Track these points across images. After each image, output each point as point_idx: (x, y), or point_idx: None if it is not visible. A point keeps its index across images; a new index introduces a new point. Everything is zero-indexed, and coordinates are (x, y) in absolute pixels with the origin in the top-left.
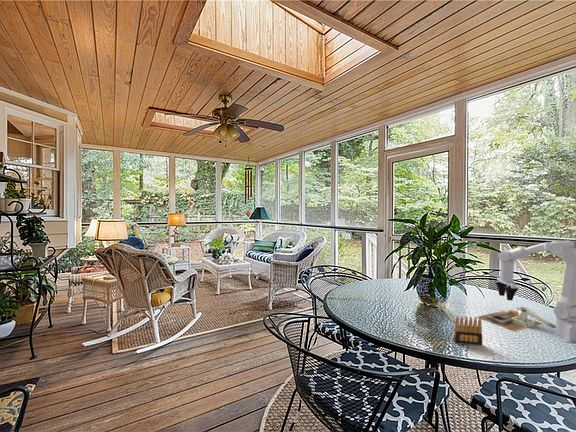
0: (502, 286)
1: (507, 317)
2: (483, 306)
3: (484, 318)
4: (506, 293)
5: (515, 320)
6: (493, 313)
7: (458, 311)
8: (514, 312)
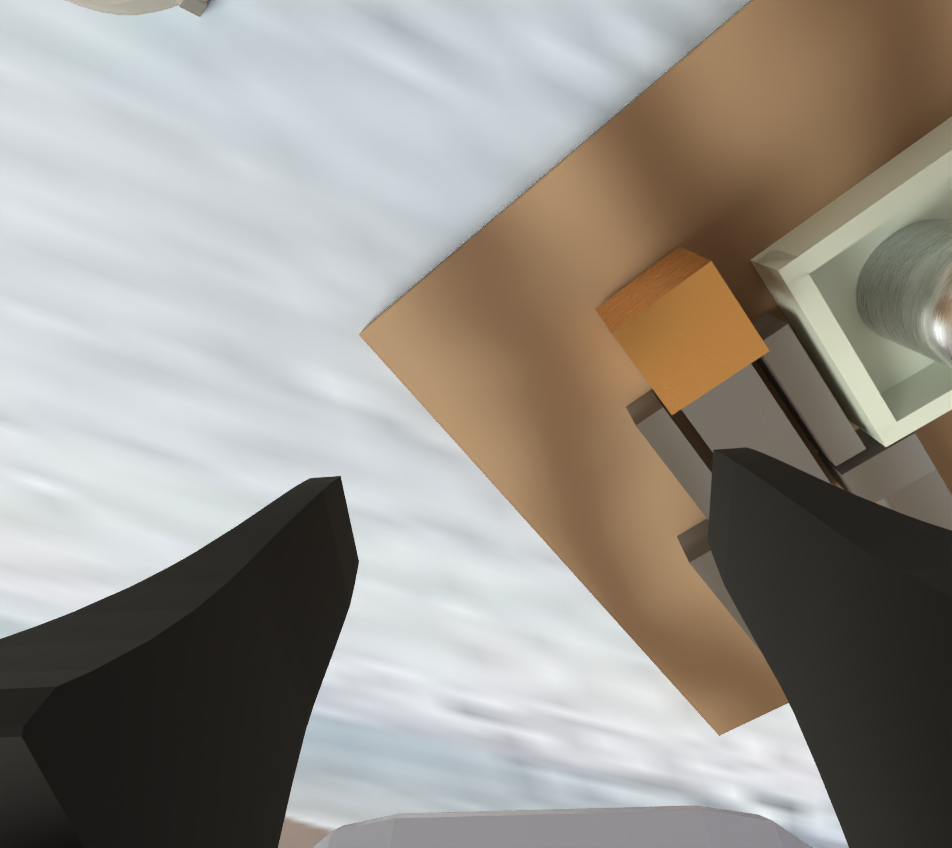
0: (229, 745)
1: (813, 462)
2: (187, 501)
3: (754, 671)
4: (799, 710)
5: (941, 402)
6: (541, 517)
7: (506, 791)
8: (750, 345)
